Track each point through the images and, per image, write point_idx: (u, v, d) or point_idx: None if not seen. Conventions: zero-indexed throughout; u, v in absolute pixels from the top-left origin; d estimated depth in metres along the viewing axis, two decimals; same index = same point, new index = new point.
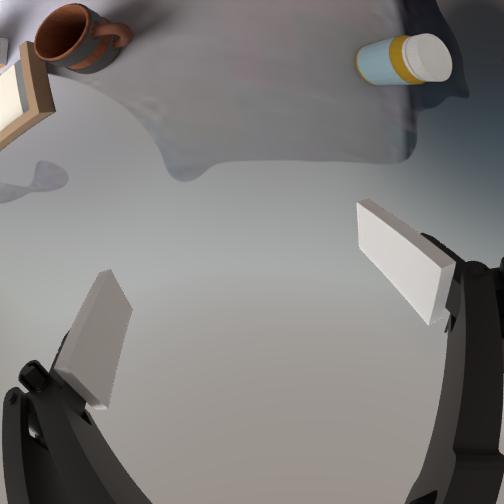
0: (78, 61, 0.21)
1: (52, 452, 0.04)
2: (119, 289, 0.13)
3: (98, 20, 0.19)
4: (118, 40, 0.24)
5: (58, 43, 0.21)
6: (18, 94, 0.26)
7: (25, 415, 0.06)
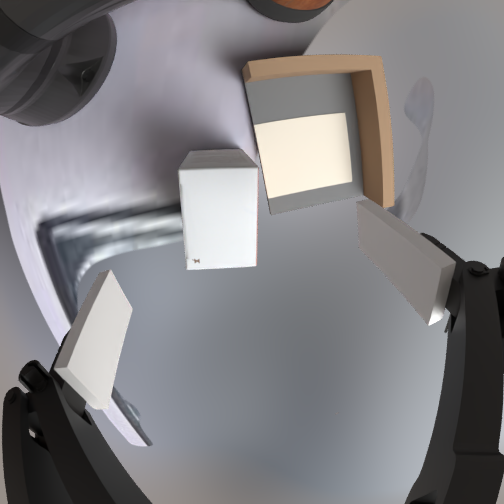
0: None
1: (52, 452, 0.04)
2: (119, 289, 0.13)
3: None
4: None
5: None
6: (312, 117, 0.26)
7: (25, 415, 0.06)
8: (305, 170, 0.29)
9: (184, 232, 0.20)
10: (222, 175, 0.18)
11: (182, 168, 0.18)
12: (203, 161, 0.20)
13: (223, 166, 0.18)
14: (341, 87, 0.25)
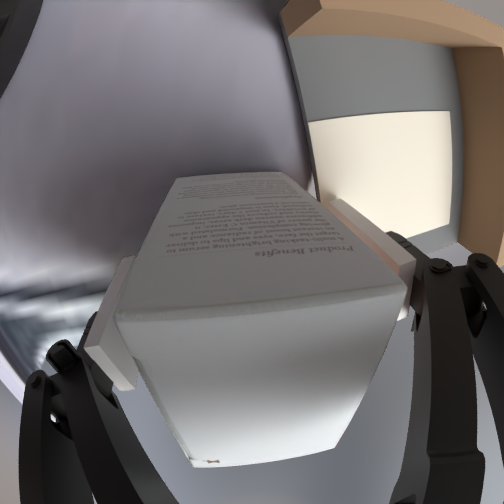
0: None
1: (74, 435, 0.05)
2: None
3: None
4: None
5: None
6: (407, 114, 0.12)
7: (48, 400, 0.07)
8: (392, 210, 0.15)
9: (176, 435, 0.06)
10: (290, 330, 0.05)
11: (129, 310, 0.04)
12: (207, 243, 0.06)
13: (292, 296, 0.05)
14: (443, 68, 0.11)
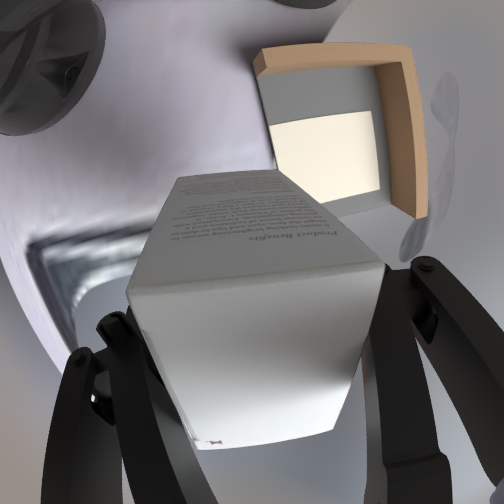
0: None
1: (117, 413, 0.06)
2: None
3: None
4: None
5: None
6: (335, 116, 0.22)
7: (91, 380, 0.07)
8: (329, 178, 0.24)
9: (180, 412, 0.07)
10: (279, 301, 0.05)
11: (139, 286, 0.05)
12: (207, 231, 0.07)
13: (280, 271, 0.05)
14: (365, 82, 0.21)
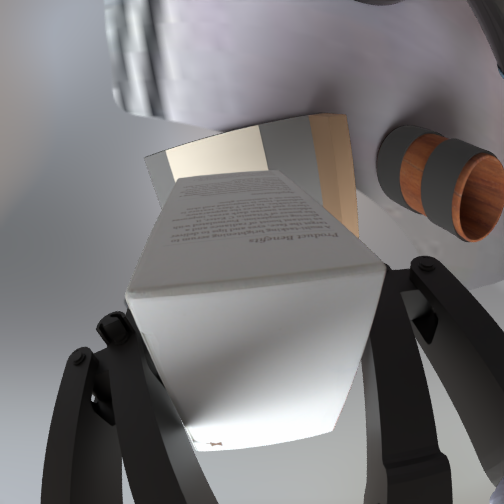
0: None
1: (117, 413, 0.06)
2: None
3: None
4: None
5: None
6: None
7: (91, 380, 0.07)
8: None
9: (180, 414, 0.07)
10: (279, 304, 0.05)
11: (139, 289, 0.05)
12: (207, 233, 0.07)
13: (281, 274, 0.05)
14: None
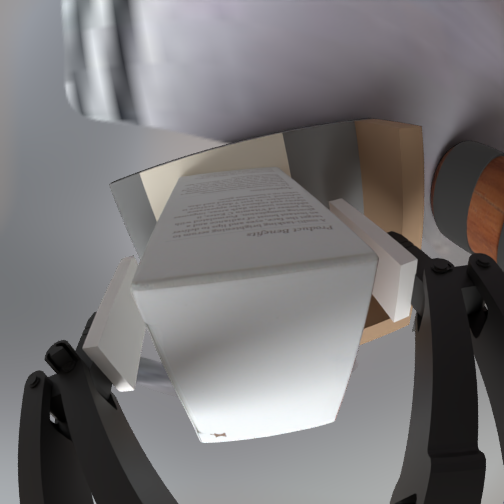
0: None
1: (74, 436, 0.05)
2: None
3: None
4: None
5: None
6: None
7: (47, 400, 0.07)
8: None
9: (185, 405, 0.08)
10: (275, 294, 0.06)
11: (143, 281, 0.05)
12: (207, 229, 0.07)
13: (276, 264, 0.06)
14: None
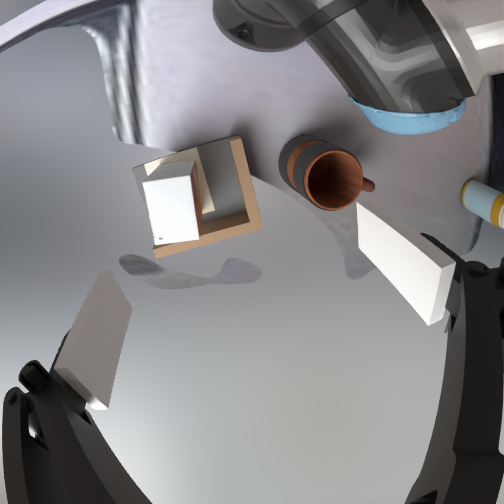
0: None
1: (52, 452, 0.04)
2: (119, 289, 0.13)
3: None
4: None
5: None
6: (207, 186, 0.40)
7: (25, 415, 0.06)
8: None
9: (151, 220, 0.30)
10: (168, 182, 0.28)
11: (145, 181, 0.28)
12: (160, 174, 0.30)
13: (169, 177, 0.28)
14: (233, 205, 0.42)
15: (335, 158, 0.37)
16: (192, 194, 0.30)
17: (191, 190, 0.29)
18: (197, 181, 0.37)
